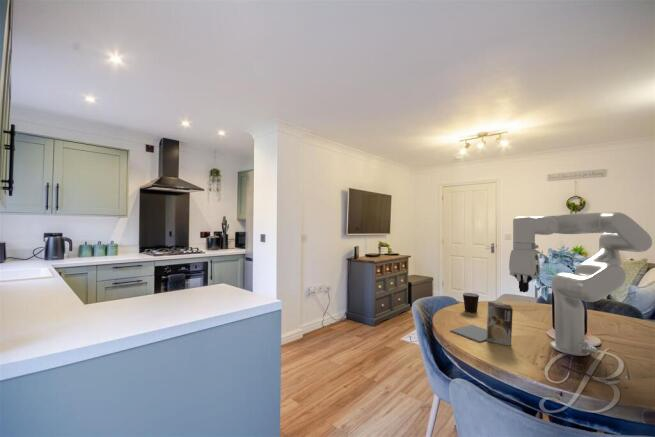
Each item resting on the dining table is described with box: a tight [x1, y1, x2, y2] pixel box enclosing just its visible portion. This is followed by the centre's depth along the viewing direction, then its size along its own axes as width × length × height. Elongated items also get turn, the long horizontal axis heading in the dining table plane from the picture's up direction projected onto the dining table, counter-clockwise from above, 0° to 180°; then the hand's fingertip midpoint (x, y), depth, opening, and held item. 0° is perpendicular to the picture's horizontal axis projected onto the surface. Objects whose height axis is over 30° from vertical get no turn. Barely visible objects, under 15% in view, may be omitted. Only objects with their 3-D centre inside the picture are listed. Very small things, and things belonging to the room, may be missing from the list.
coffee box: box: [486, 301, 514, 347], centre depth 130 cm, size 9×6×16 cm
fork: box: [560, 364, 621, 385], centre depth 102 cm, size 3×16×2 cm, turn 29°
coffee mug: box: [462, 292, 480, 314], centre depth 174 cm, size 12×9×10 cm
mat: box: [450, 324, 488, 343], centre depth 140 cm, size 15×16×1 cm
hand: (523, 291), depth 121 cm, fingers closed
